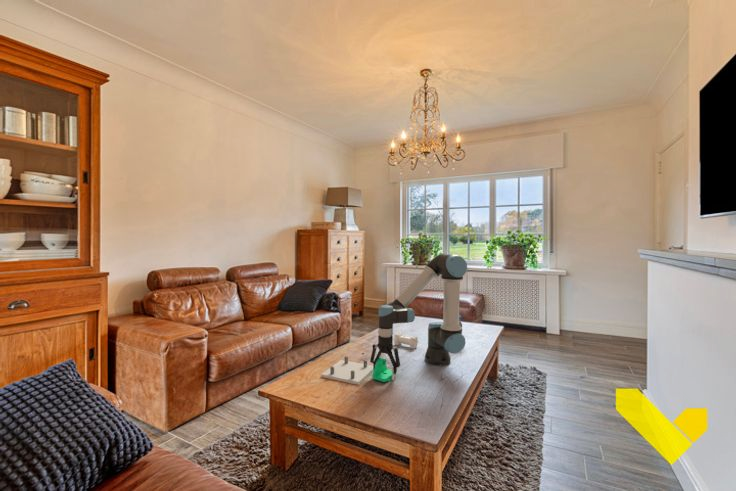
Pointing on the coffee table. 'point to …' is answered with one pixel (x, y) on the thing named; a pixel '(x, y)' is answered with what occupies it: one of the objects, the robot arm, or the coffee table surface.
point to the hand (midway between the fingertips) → (384, 377)
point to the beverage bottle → (459, 321)
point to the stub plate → (348, 371)
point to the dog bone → (406, 340)
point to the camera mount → (382, 371)
